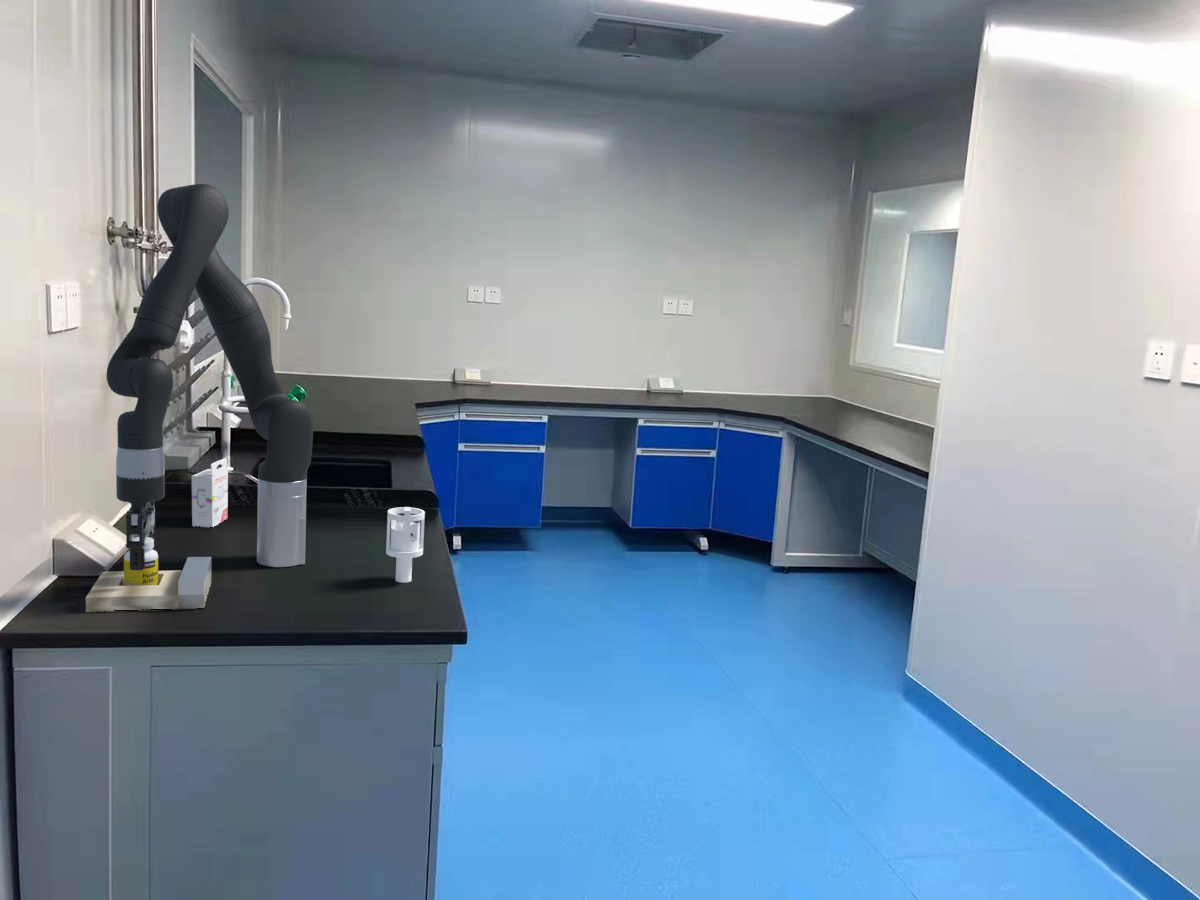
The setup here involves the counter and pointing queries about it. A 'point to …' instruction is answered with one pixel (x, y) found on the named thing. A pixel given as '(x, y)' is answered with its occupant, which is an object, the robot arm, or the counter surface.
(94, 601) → the jig
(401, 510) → the strainer
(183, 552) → the counter surface
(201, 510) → the ink cartridge box
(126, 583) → the supplement bottle
